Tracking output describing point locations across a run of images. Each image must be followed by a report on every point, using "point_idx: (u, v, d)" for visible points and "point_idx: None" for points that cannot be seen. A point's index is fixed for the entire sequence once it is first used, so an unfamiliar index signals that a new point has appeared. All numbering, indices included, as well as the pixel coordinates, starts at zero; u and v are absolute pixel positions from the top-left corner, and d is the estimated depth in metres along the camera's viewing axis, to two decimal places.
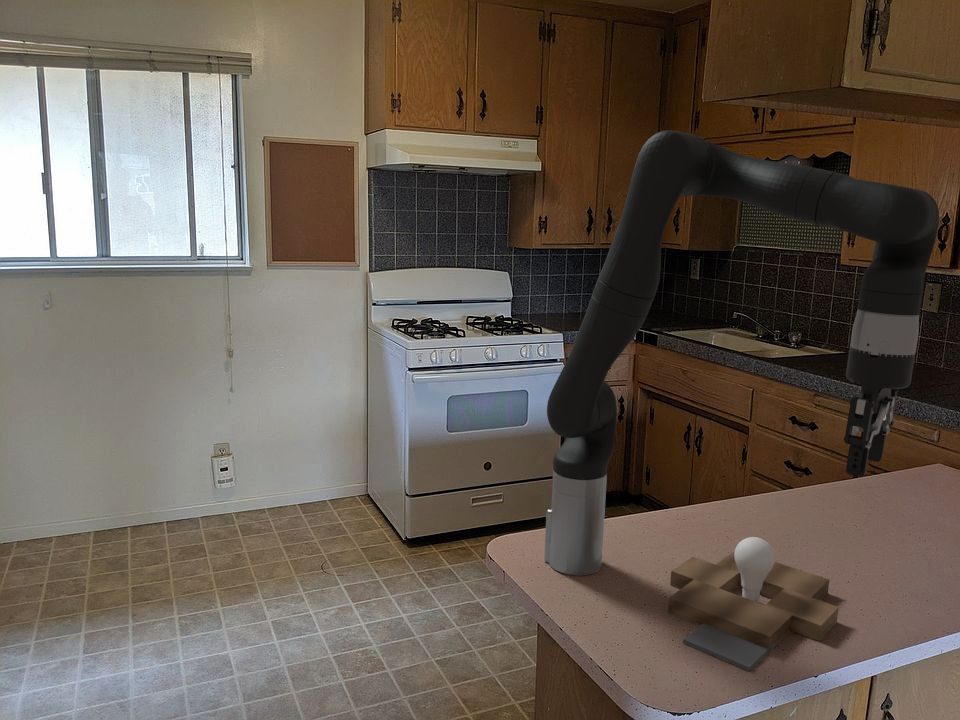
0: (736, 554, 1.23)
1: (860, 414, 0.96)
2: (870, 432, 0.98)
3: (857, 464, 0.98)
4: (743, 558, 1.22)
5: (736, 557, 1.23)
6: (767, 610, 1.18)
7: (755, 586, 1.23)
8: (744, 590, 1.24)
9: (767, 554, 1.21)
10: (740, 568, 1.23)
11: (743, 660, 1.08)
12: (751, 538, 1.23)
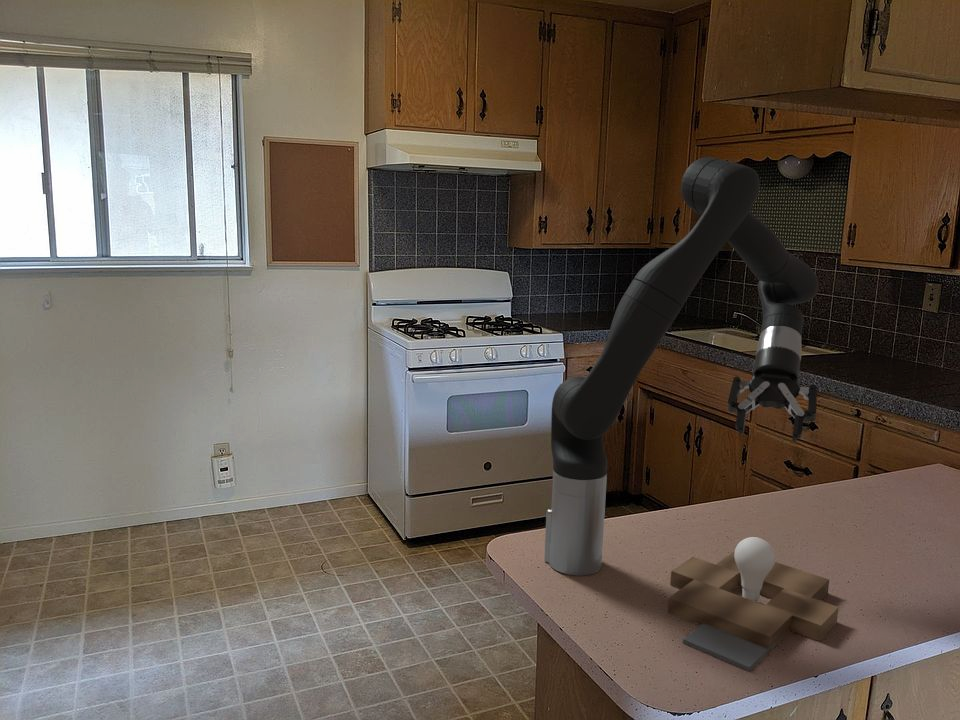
0: (736, 554, 1.23)
1: None
2: None
3: None
4: (743, 558, 1.22)
5: (736, 557, 1.23)
6: (767, 610, 1.18)
7: (755, 586, 1.23)
8: (744, 590, 1.24)
9: (767, 554, 1.21)
10: (740, 568, 1.23)
11: (743, 660, 1.08)
12: (751, 538, 1.23)
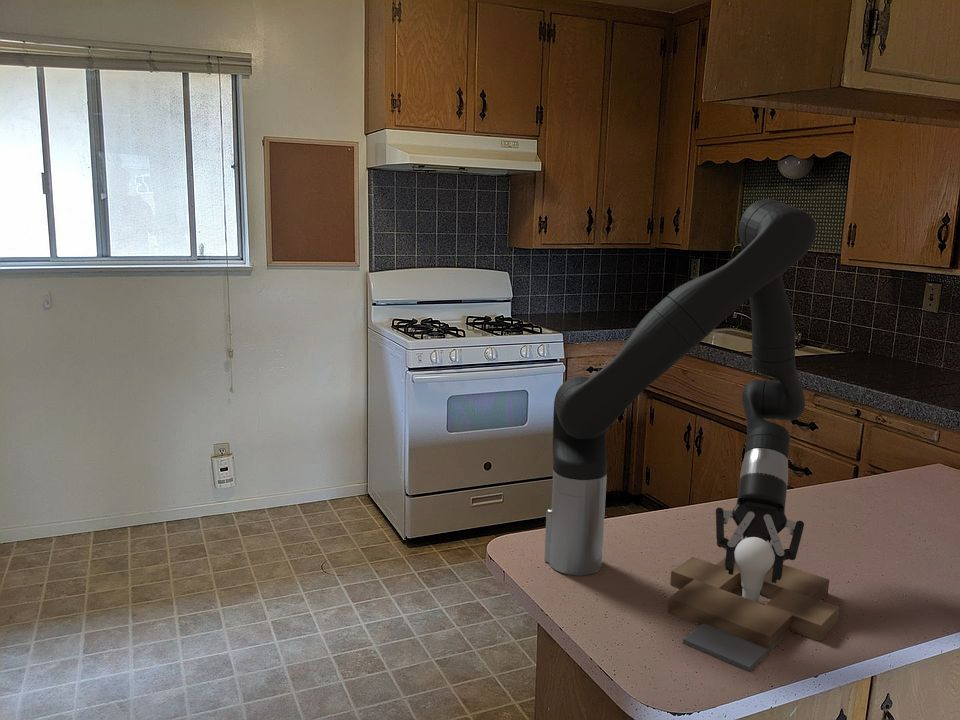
0: (736, 554, 1.23)
1: (800, 535, 1.24)
2: None
3: None
4: (743, 558, 1.22)
5: (736, 557, 1.23)
6: (767, 610, 1.18)
7: (755, 586, 1.23)
8: (744, 590, 1.24)
9: (766, 554, 1.21)
10: (740, 568, 1.23)
11: (743, 660, 1.08)
12: (751, 538, 1.23)
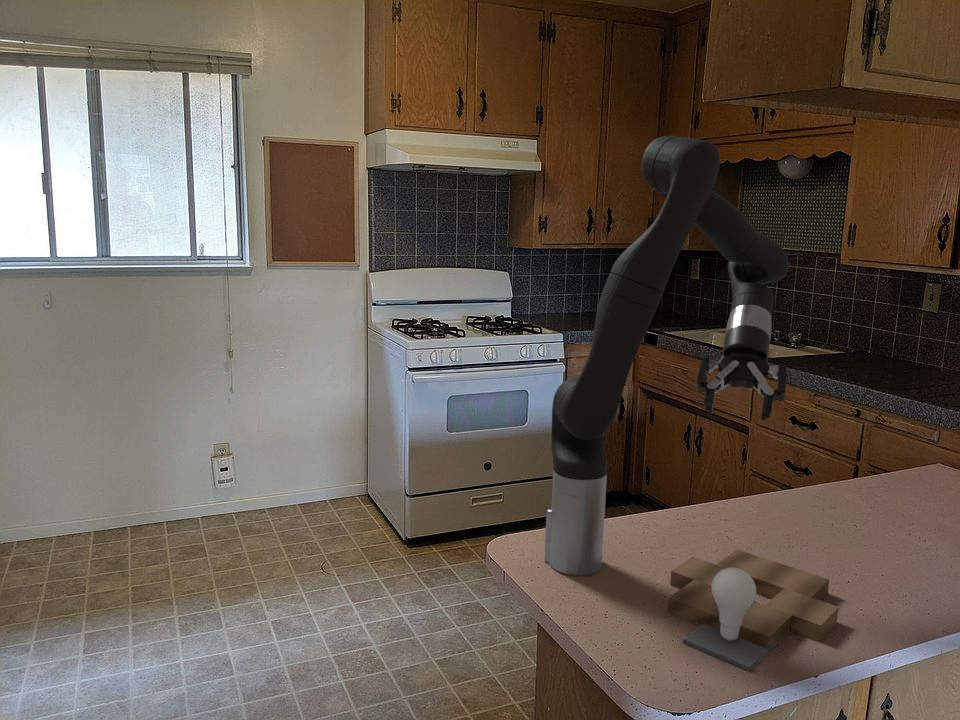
0: (713, 587, 1.11)
1: None
2: None
3: None
4: (721, 591, 1.09)
5: (713, 590, 1.11)
6: (767, 610, 1.18)
7: (734, 622, 1.11)
8: (722, 626, 1.12)
9: (747, 588, 1.09)
10: (718, 602, 1.11)
11: (743, 660, 1.08)
12: (730, 569, 1.11)
